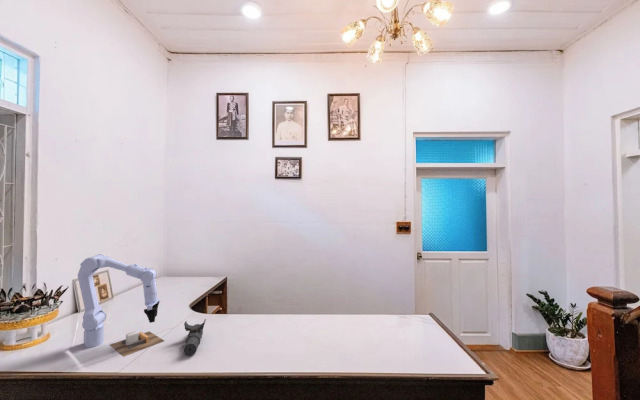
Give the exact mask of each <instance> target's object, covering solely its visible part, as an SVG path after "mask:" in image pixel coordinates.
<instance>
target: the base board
mask: <svg viewBox="0 0 640 400" xmlns="http://www.w3.org/2000/svg"><path fill="white" fill-rule="evenodd" d="M143 333H144V334H146V335H147V336H149V342H147V343H146V342H145V339H143V340H142V339H140V338H139V334H138V342H135V343H132V344H129V345H128V346H127V345H126V338H125V339H122V340H119V341H116V342H113V343H111V344H109V347H111V348H112V349H114V350H115V351H116V352H117V353H118V354H119V355H121V356H122V357H123V358H125V357H127V356H130V355H132V354H134V353H137V352H139V351H142V350H146V349H148V348H150V347H152V346H155V345H158V344H161V343H163V342H165V340H164V339H162V338H161V337H159V336H157V334H154V333H153V332H151V331H146V332H143Z"/></svg>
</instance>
